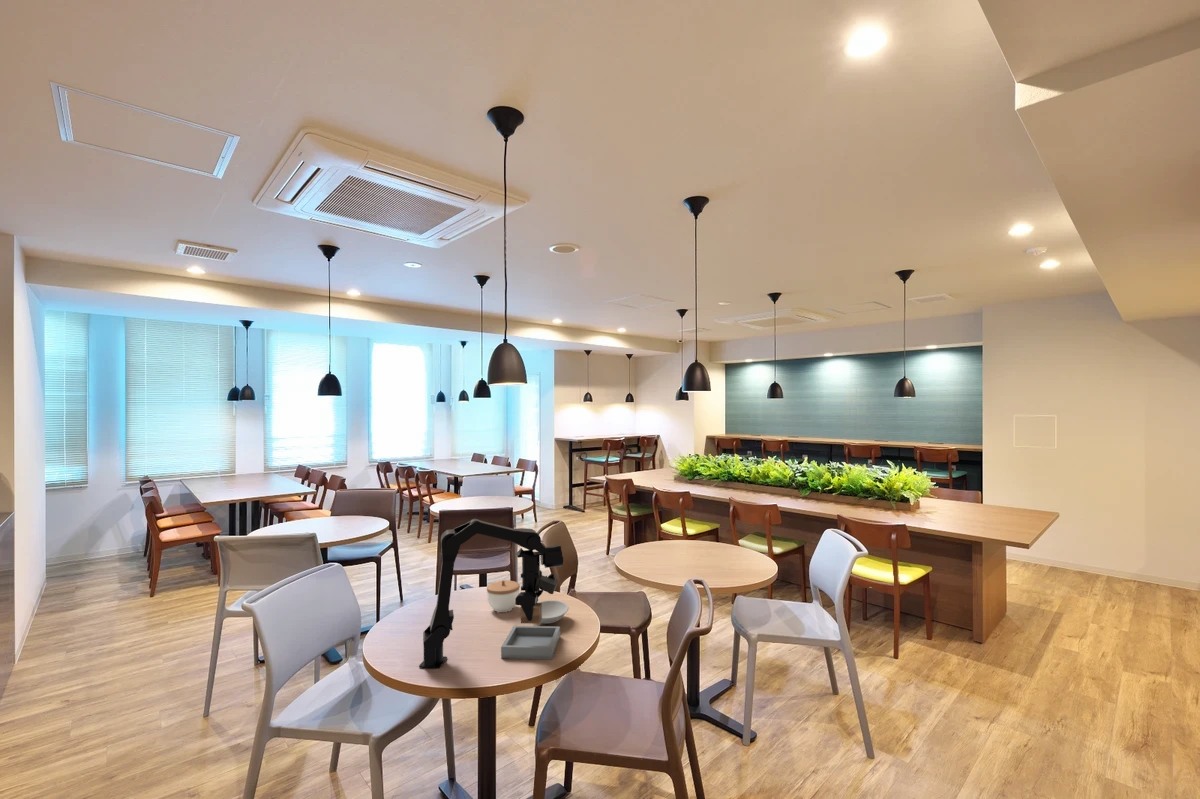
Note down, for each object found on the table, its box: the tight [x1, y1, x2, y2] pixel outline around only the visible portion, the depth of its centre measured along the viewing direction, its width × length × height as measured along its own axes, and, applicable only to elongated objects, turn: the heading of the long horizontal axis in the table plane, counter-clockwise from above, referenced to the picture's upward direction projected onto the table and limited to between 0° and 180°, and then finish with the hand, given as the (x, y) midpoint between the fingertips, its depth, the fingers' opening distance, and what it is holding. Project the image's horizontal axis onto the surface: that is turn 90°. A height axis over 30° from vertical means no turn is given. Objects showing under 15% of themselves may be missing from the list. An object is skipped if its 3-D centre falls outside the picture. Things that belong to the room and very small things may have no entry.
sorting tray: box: [500, 625, 561, 660], centre depth 168 cm, size 16×16×4 cm
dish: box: [537, 599, 570, 625], centre depth 187 cm, size 18×14×5 cm
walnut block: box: [520, 602, 542, 625], centre depth 168 cm, size 4×6×5 cm
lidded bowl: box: [486, 579, 521, 613], centre depth 201 cm, size 13×13×11 cm
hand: (531, 617), depth 168 cm, fingers closed on walnut block, 4 cm apart
